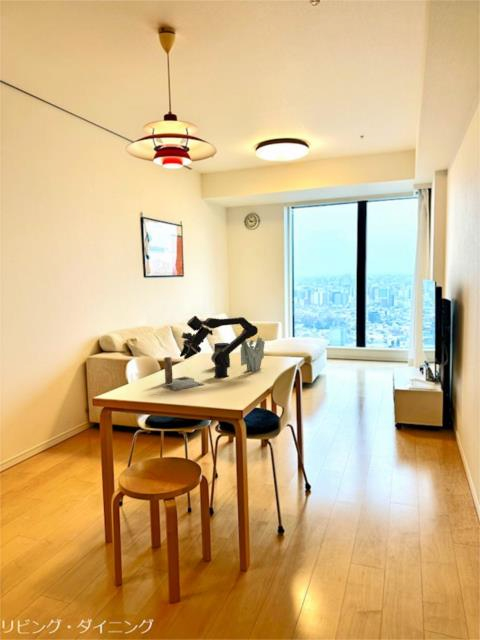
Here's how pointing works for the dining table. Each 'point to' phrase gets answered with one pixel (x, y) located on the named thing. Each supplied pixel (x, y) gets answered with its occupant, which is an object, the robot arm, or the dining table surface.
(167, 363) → the rail post
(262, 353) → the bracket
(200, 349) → the robot arm
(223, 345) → the storage jar
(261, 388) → the dining table surface
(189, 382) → the grey stand base
